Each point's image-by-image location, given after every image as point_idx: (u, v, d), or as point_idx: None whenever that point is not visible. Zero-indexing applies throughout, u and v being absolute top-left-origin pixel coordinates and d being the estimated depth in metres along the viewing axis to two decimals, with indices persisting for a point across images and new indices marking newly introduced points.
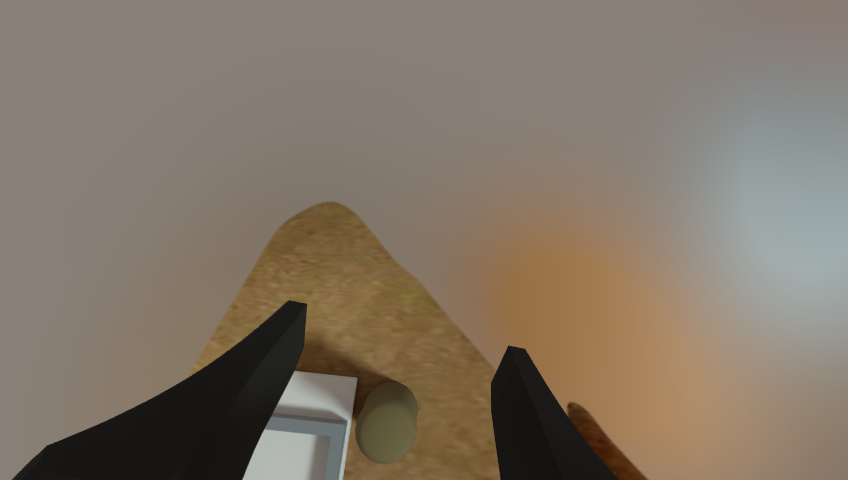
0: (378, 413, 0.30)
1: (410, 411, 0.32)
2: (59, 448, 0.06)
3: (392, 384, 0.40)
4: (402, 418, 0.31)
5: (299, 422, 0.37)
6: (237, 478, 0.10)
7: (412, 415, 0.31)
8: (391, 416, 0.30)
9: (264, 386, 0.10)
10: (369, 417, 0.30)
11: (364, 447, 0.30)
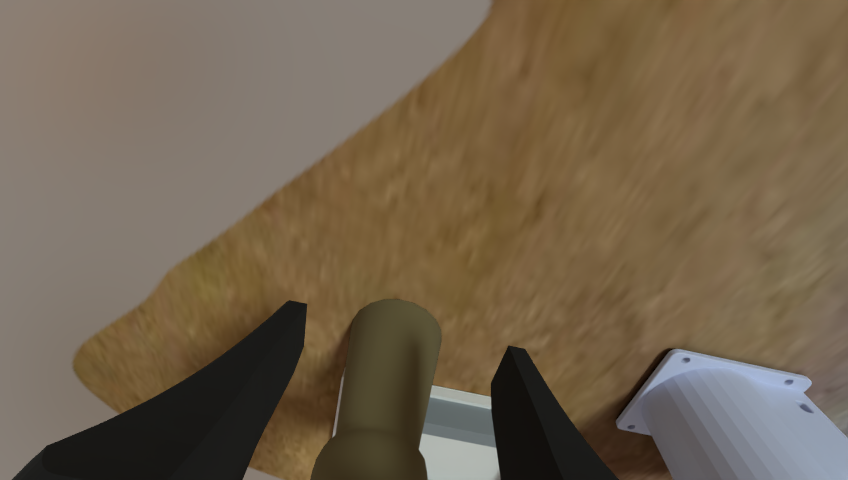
0: None
1: (333, 468, 0.15)
2: (59, 448, 0.06)
3: (349, 342, 0.23)
4: None
5: None
6: (237, 478, 0.10)
7: (341, 465, 0.15)
8: None
9: (264, 386, 0.10)
10: None
11: None
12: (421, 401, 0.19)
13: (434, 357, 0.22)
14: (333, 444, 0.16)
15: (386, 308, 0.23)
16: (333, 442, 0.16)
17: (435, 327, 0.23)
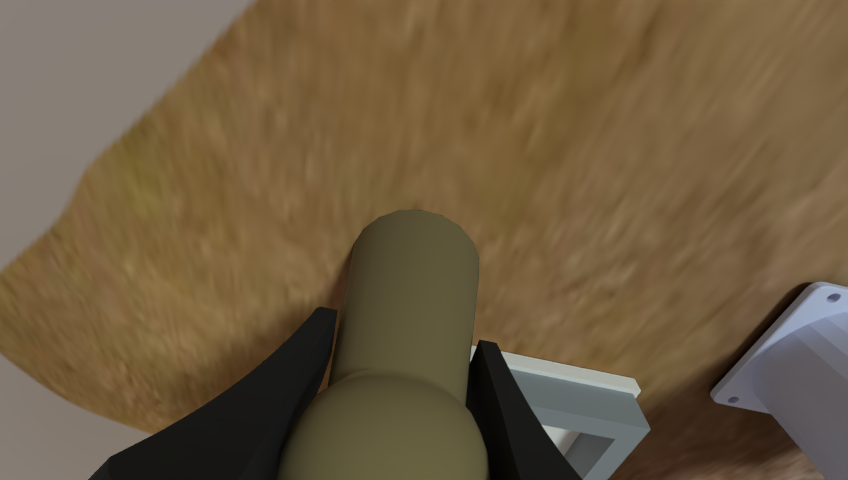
0: None
1: (318, 442, 0.08)
2: (123, 460, 0.06)
3: (348, 273, 0.16)
4: None
5: None
6: None
7: (334, 437, 0.08)
8: None
9: (301, 393, 0.10)
10: None
11: None
12: (464, 342, 0.12)
13: (475, 289, 0.15)
14: (320, 402, 0.09)
15: (403, 220, 0.15)
16: (320, 399, 0.09)
17: (473, 251, 0.16)
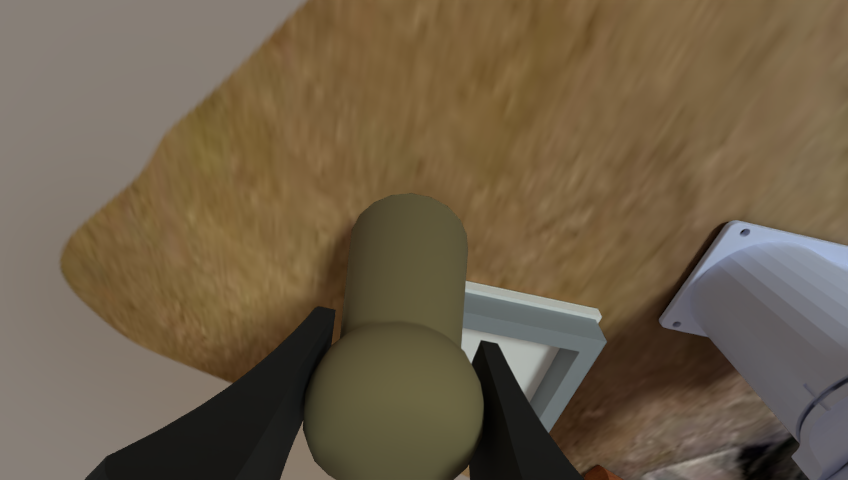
0: (335, 471, 0.10)
1: (338, 373, 0.09)
2: (119, 459, 0.06)
3: None
4: (347, 423, 0.09)
5: None
6: None
7: (351, 368, 0.09)
8: (341, 450, 0.09)
9: (299, 393, 0.10)
10: None
11: None
12: (456, 301, 0.14)
13: (464, 260, 0.17)
14: (336, 347, 0.10)
15: (395, 202, 0.17)
16: (336, 345, 0.10)
17: (461, 228, 0.18)
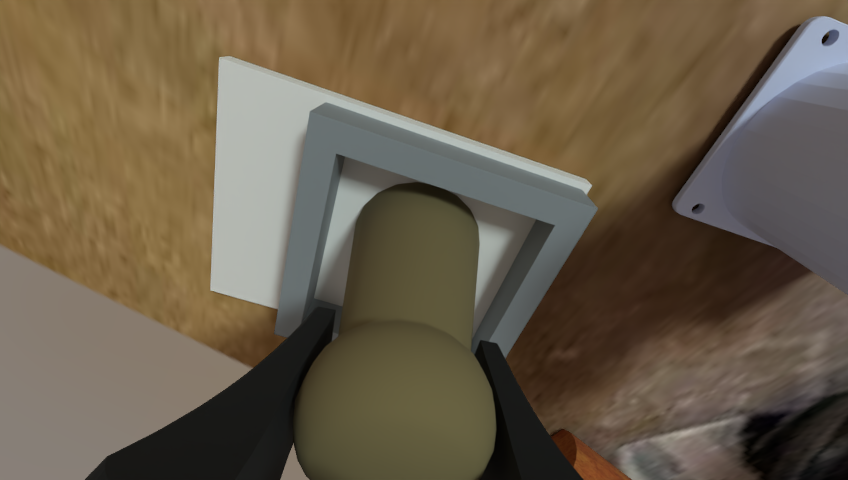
0: None
1: (328, 379, 0.08)
2: (120, 459, 0.06)
3: None
4: (337, 436, 0.08)
5: (298, 220, 0.15)
6: None
7: (342, 373, 0.08)
8: (332, 466, 0.08)
9: None
10: None
11: None
12: (465, 297, 0.12)
13: (475, 253, 0.15)
14: (328, 349, 0.09)
15: (400, 192, 0.16)
16: (328, 347, 0.09)
17: (471, 218, 0.17)
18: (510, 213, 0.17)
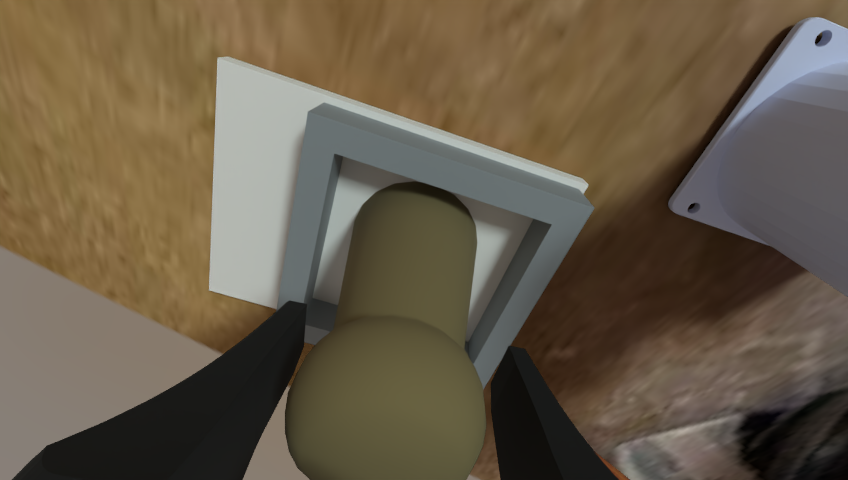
0: None
1: (319, 372, 0.08)
2: (59, 448, 0.06)
3: None
4: (327, 428, 0.08)
5: (296, 220, 0.15)
6: (237, 478, 0.10)
7: (332, 366, 0.08)
8: (322, 458, 0.08)
9: (264, 386, 0.10)
10: None
11: None
12: (459, 295, 0.12)
13: (471, 252, 0.15)
14: (321, 343, 0.09)
15: (398, 191, 0.16)
16: (321, 341, 0.10)
17: (469, 218, 0.17)
18: (507, 212, 0.17)
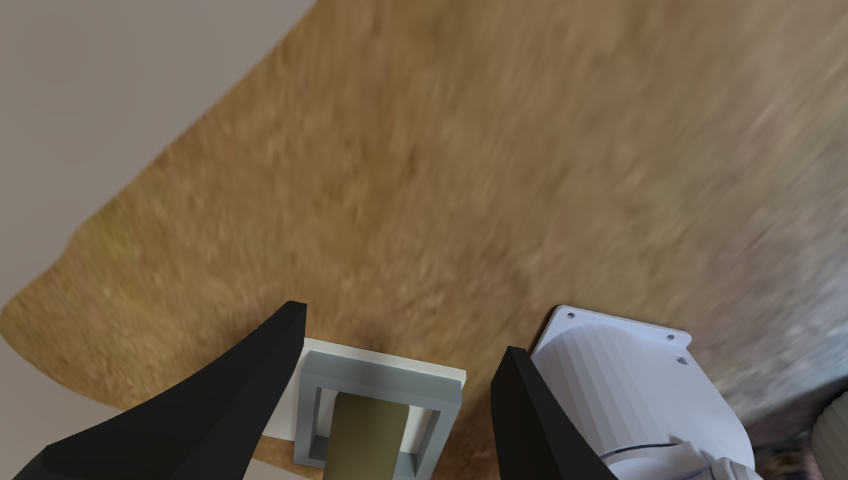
0: None
1: None
2: (59, 448, 0.06)
3: None
4: None
5: (300, 413, 0.28)
6: (237, 478, 0.10)
7: None
8: None
9: (264, 386, 0.10)
10: None
11: None
12: (383, 470, 0.24)
13: (399, 426, 0.27)
14: None
15: None
16: None
17: None
18: None
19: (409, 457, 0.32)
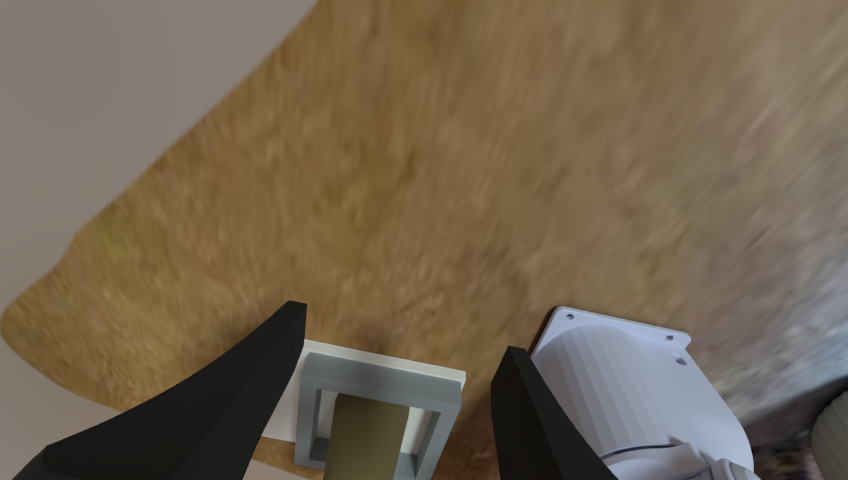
0: None
1: None
2: (59, 449, 0.06)
3: None
4: None
5: (300, 415, 0.28)
6: (237, 478, 0.10)
7: None
8: None
9: (264, 386, 0.10)
10: None
11: None
12: (383, 472, 0.24)
13: (399, 428, 0.27)
14: None
15: None
16: None
17: None
18: None
19: (409, 458, 0.32)
